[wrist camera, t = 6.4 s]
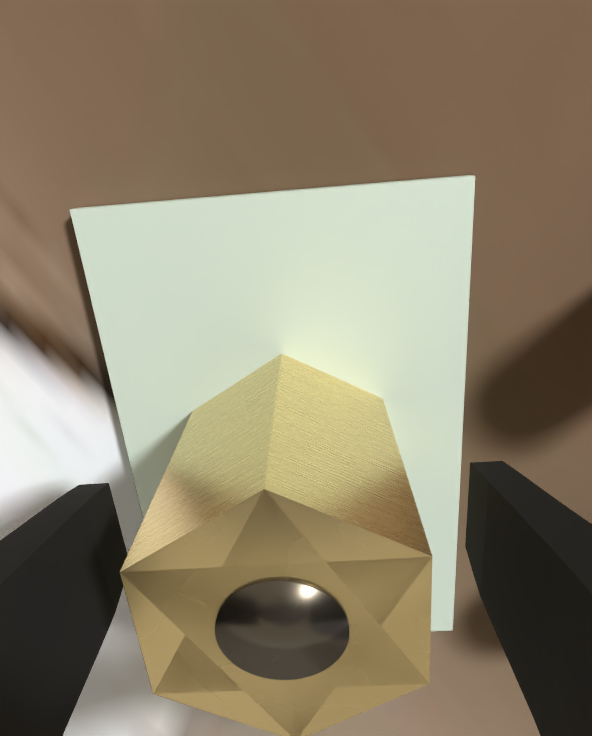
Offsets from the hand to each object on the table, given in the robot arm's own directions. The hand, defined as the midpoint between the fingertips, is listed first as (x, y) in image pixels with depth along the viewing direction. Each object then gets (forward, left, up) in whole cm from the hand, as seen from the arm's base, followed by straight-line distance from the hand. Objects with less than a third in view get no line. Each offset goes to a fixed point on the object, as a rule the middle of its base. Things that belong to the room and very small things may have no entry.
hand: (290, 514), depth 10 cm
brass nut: (0, 0, -2) cm, 2 cm away
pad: (0, 0, -3) cm, 3 cm away
